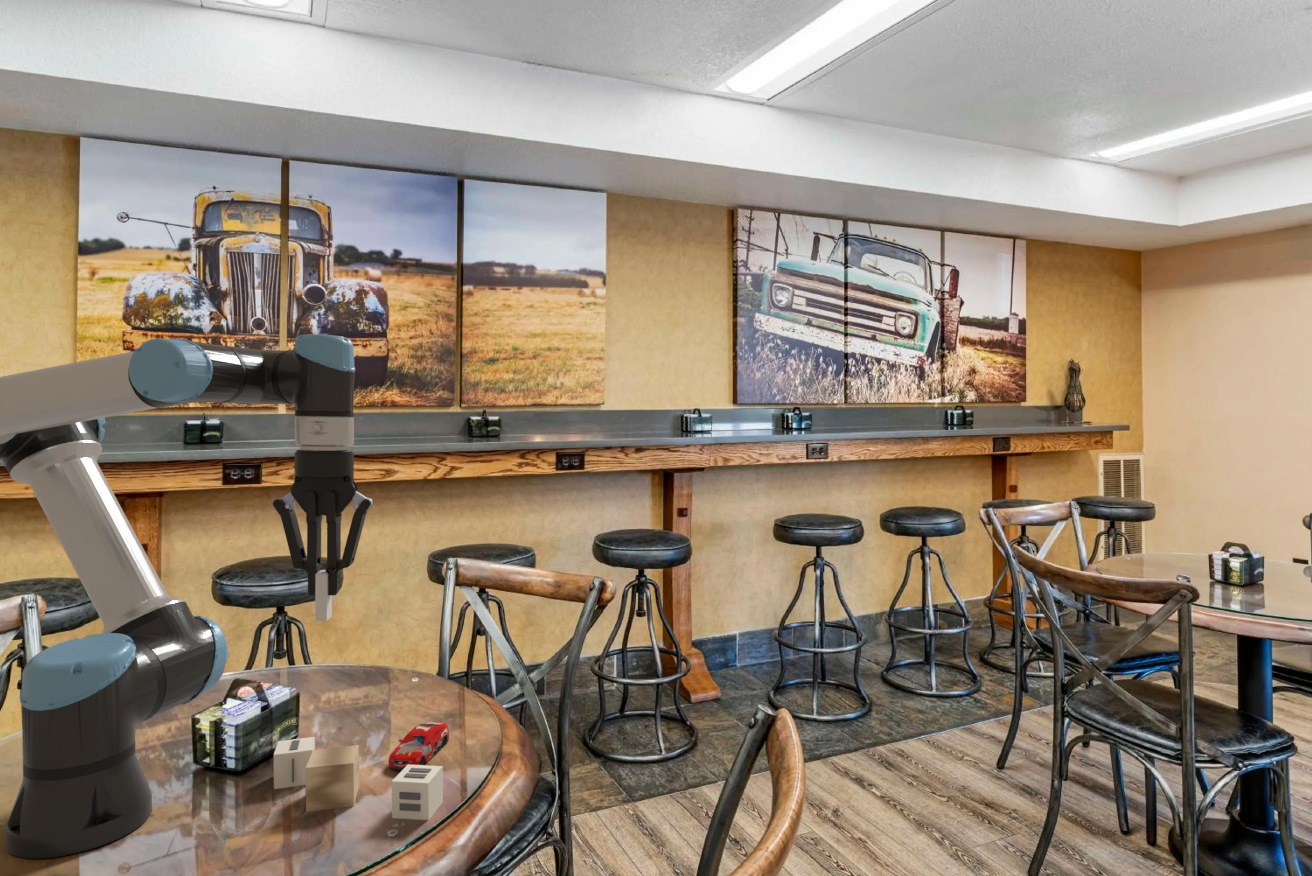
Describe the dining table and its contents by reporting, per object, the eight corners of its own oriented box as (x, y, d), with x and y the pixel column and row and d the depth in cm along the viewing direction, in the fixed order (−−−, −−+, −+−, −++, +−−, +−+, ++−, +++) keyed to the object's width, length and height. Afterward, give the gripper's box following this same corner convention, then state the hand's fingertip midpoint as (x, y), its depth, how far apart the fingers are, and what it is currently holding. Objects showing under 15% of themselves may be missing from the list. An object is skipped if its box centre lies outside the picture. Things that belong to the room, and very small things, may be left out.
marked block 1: (273, 791, 110) (273, 755, 110) (278, 774, 115) (278, 740, 115) (312, 786, 112) (311, 750, 111) (315, 769, 117) (314, 735, 117)
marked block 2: (391, 819, 102) (391, 780, 102) (408, 800, 107) (407, 763, 107) (428, 821, 102) (427, 782, 102) (442, 802, 107) (442, 765, 107)
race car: (415, 776, 115) (415, 750, 115) (382, 773, 116) (381, 747, 116) (455, 740, 128) (454, 716, 128) (424, 737, 129) (424, 713, 129)
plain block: (306, 812, 104) (305, 768, 104) (314, 791, 110) (313, 749, 110) (353, 806, 106) (353, 763, 105) (359, 786, 111) (358, 745, 111)
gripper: (264, 448, 102) (264, 627, 103) (368, 449, 104) (367, 624, 105) (283, 446, 110) (282, 612, 110) (379, 447, 112) (378, 610, 112)
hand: (323, 618), depth 108 cm, fingers closed
